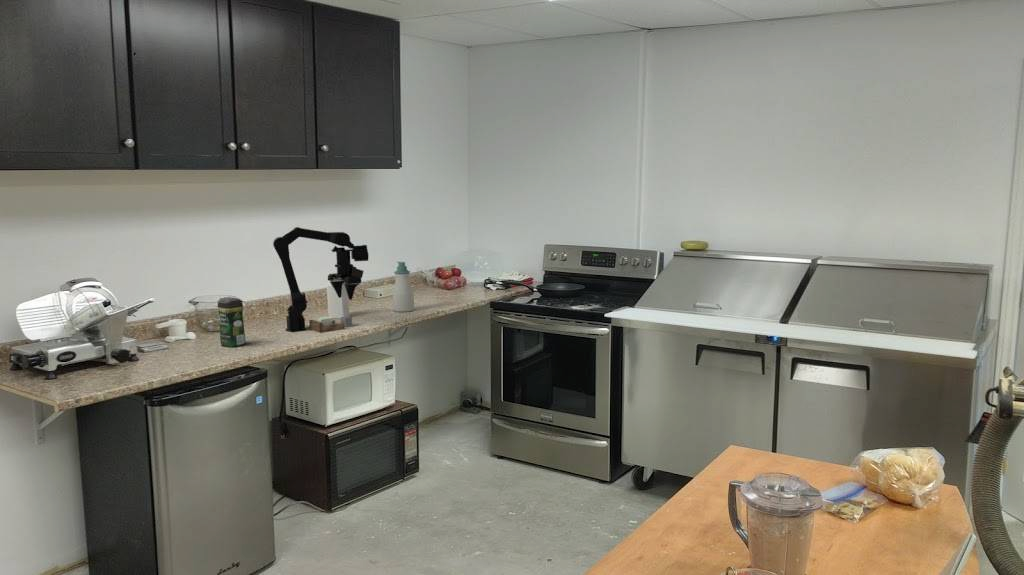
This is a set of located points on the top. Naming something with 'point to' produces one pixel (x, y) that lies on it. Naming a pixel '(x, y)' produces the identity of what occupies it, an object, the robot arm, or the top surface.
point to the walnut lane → (325, 326)
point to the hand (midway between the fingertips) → (345, 298)
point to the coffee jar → (231, 322)
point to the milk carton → (337, 302)
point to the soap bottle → (402, 290)
